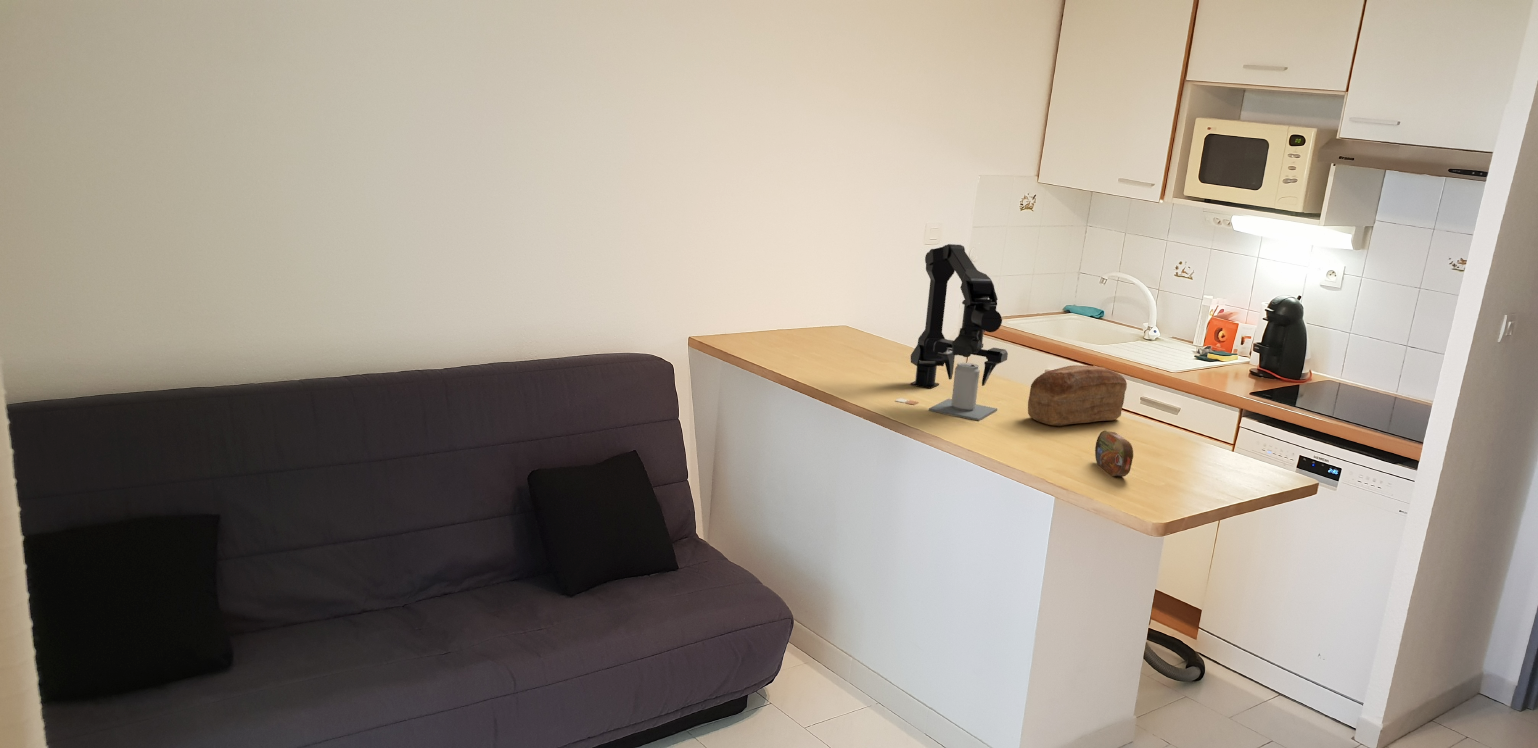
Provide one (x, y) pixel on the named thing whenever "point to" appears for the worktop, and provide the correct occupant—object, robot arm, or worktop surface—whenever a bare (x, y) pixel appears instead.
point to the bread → (1076, 395)
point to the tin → (1113, 453)
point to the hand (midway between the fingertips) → (966, 382)
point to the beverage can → (965, 386)
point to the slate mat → (974, 414)
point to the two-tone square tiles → (906, 401)
